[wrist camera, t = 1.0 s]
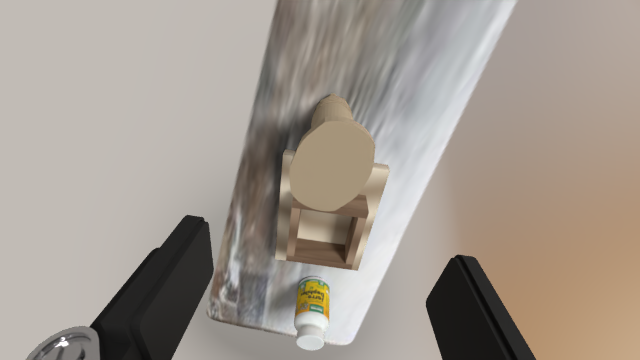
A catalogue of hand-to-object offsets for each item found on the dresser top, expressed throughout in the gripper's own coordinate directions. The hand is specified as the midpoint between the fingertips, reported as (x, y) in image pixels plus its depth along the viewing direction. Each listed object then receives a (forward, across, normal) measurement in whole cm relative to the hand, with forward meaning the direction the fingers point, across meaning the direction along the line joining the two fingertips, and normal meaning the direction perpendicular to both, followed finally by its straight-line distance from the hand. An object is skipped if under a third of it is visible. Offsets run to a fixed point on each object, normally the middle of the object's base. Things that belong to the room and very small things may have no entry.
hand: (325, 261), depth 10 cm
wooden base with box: (+22, -2, +15) cm, 27 cm away
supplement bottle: (+22, -2, +31) cm, 38 cm away
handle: (+22, 0, 0) cm, 22 cm away
